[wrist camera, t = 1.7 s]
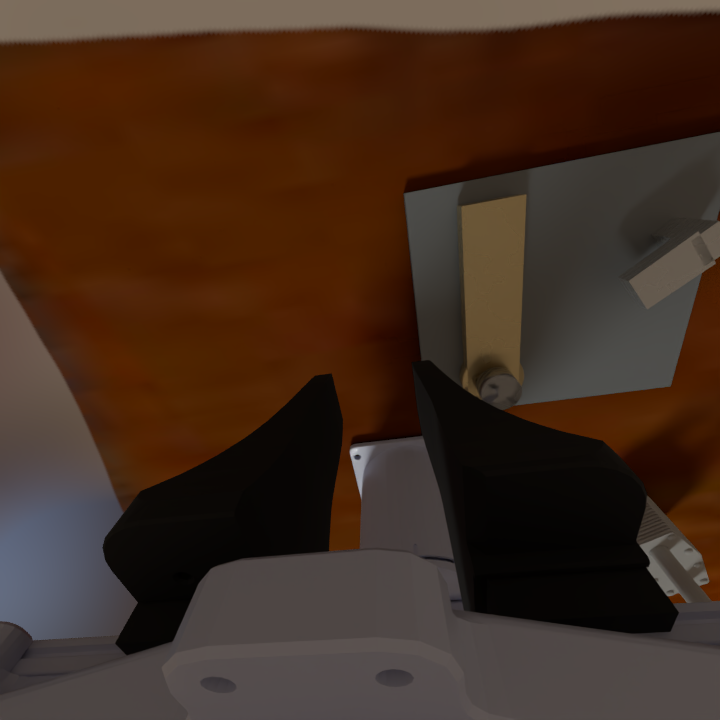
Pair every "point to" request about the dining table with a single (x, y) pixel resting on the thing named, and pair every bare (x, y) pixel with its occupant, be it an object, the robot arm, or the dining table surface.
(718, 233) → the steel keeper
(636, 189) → the slate board
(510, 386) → the pin cap
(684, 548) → the grey padlock
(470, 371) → the brass link
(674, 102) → the dining table surface
